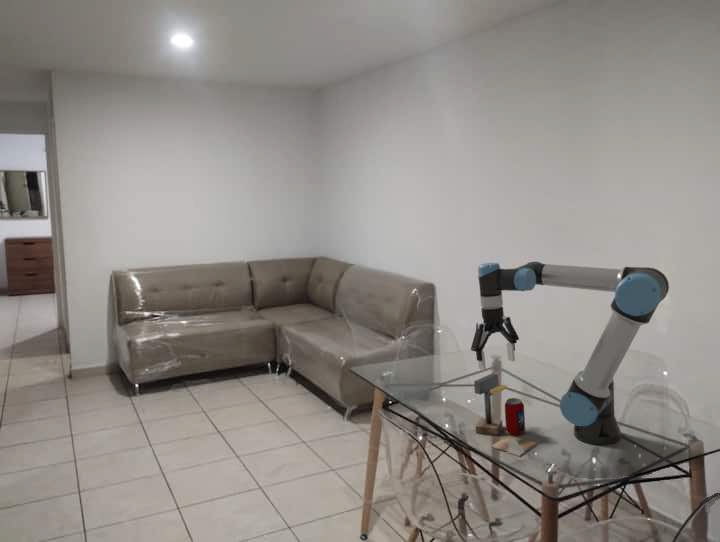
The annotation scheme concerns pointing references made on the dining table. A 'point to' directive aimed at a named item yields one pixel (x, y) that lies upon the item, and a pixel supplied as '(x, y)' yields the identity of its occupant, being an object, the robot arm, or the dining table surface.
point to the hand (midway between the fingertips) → (497, 364)
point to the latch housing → (489, 426)
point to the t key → (488, 391)
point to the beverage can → (514, 416)
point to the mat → (503, 443)
